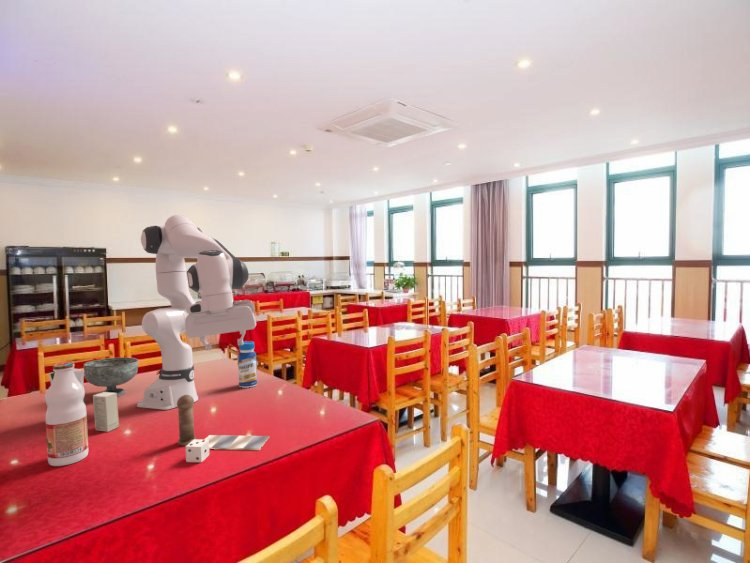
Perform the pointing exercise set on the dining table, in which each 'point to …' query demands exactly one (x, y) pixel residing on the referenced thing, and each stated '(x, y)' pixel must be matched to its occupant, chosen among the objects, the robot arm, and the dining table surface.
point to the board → (236, 442)
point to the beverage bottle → (247, 365)
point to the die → (197, 450)
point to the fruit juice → (66, 417)
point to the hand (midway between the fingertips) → (224, 347)
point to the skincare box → (106, 411)
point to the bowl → (111, 372)
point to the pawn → (186, 420)
